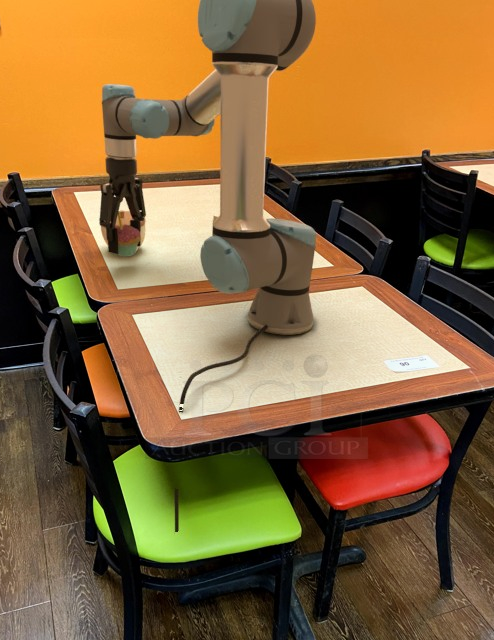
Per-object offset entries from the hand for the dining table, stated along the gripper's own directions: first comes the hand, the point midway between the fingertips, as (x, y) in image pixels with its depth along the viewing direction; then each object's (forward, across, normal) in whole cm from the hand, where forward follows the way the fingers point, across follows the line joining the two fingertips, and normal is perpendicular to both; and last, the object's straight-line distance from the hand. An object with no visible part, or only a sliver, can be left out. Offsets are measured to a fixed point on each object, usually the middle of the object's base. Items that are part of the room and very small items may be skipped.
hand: (124, 248), depth 150 cm
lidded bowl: (+4, -11, -8) cm, 14 cm away
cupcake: (+1, 0, 0) cm, 1 cm away
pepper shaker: (+4, -32, +10) cm, 34 cm away
